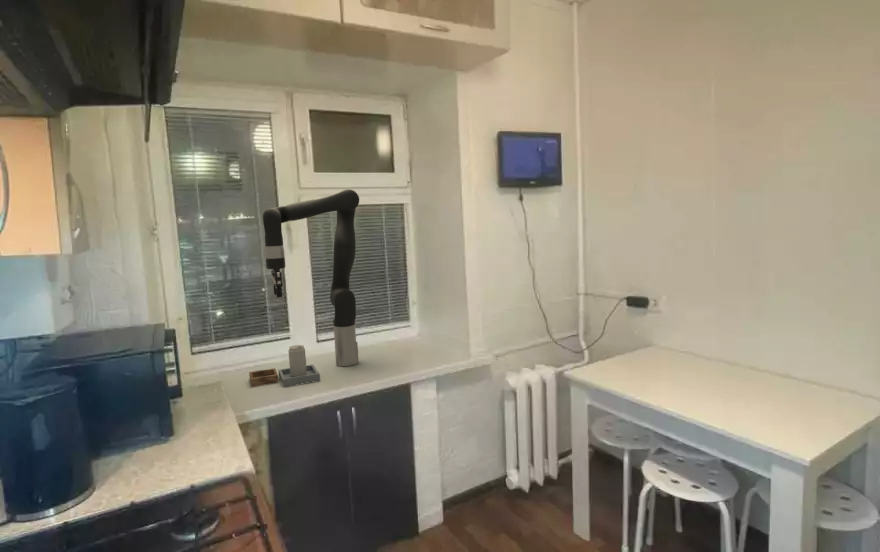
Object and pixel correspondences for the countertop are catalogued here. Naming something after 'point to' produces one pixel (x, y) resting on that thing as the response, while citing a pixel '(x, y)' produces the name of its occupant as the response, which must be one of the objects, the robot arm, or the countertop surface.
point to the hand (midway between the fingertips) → (278, 295)
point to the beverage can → (297, 360)
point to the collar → (263, 377)
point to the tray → (308, 377)
